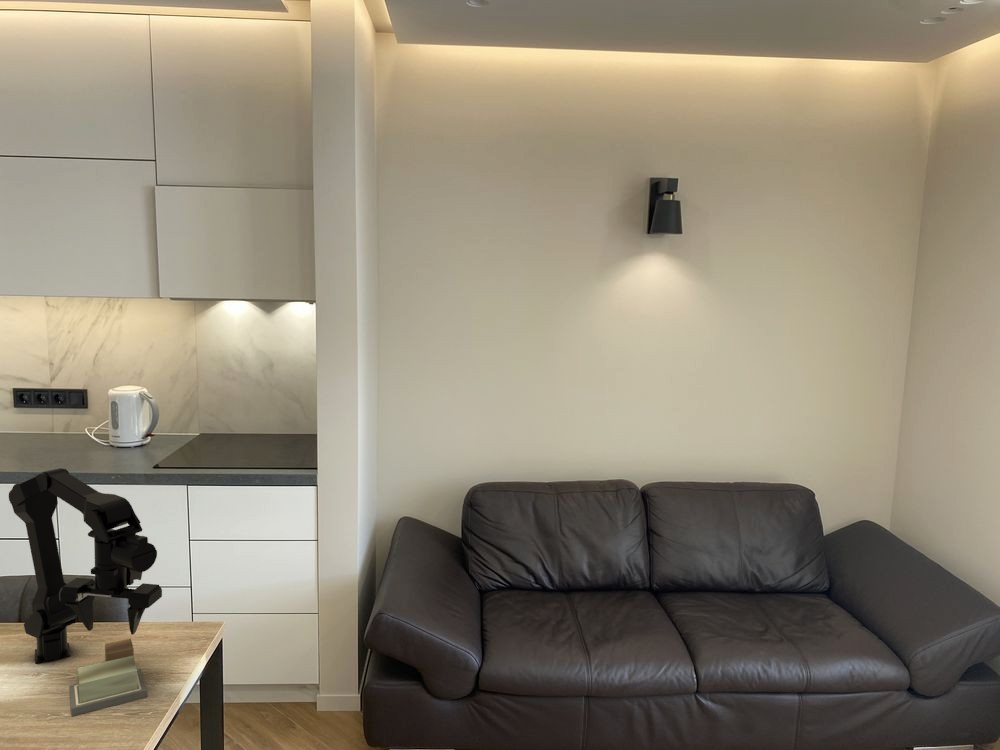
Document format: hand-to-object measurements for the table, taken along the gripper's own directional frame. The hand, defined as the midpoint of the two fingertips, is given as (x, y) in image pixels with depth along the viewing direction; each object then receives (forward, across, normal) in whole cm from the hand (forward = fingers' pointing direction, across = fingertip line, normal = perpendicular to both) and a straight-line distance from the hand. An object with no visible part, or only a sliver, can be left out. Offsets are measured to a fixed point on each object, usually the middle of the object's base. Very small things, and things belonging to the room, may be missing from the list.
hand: (111, 631), depth 147 cm
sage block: (+9, -2, +5) cm, 11 cm away
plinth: (+10, -2, +5) cm, 12 cm away
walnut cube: (+11, +1, -4) cm, 12 cm away
